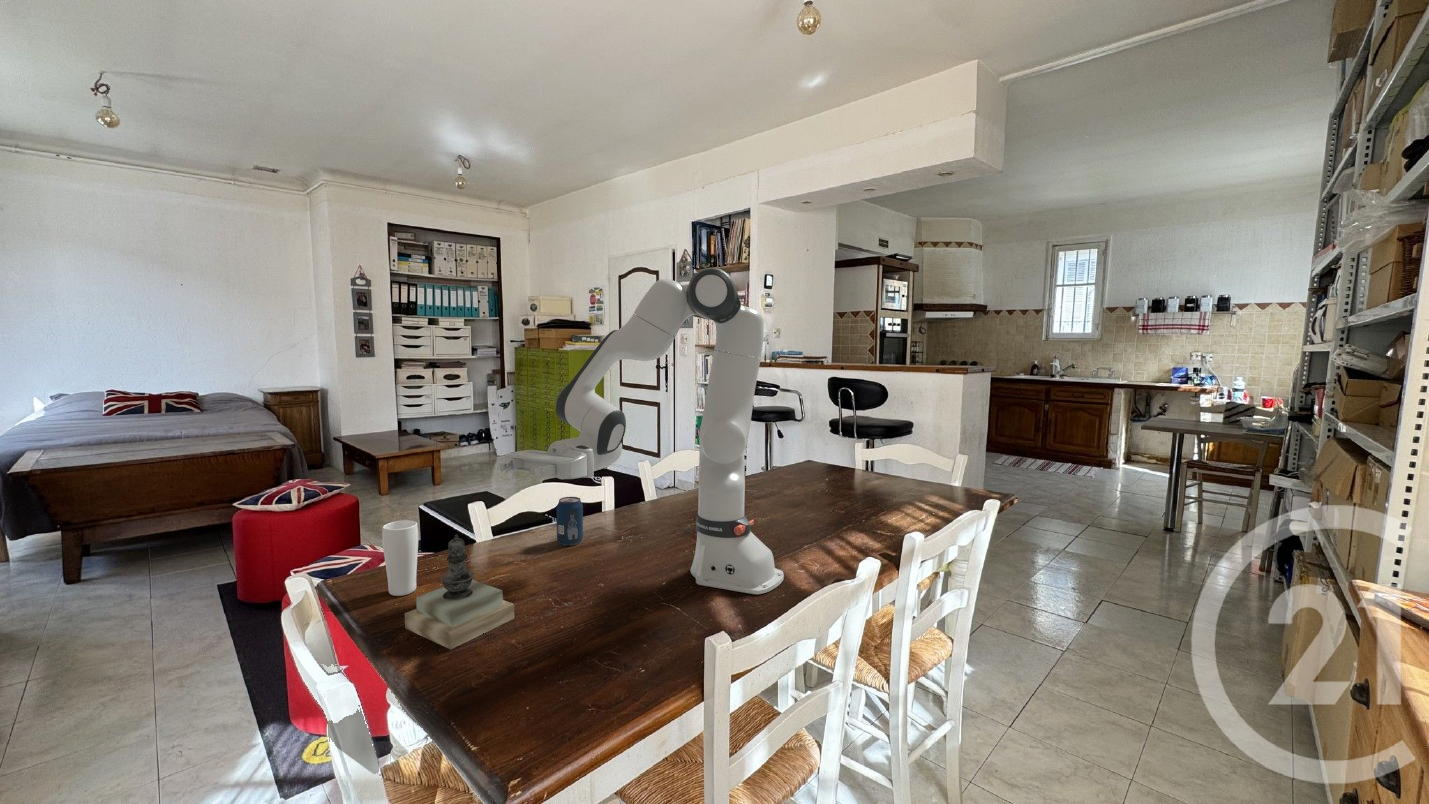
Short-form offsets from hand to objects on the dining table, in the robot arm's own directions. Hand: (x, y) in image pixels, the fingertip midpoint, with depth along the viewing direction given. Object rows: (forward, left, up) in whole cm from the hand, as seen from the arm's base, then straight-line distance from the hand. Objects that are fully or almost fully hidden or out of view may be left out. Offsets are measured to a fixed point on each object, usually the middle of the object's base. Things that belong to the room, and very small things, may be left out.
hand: (516, 470), depth 122 cm
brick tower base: (+1, +13, -28) cm, 31 cm away
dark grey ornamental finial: (+1, +14, -22) cm, 26 cm away
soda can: (+17, -32, -28) cm, 46 cm away
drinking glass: (+24, +11, -28) cm, 39 cm away
